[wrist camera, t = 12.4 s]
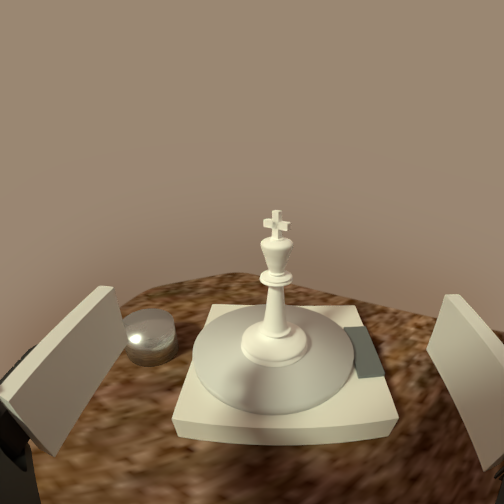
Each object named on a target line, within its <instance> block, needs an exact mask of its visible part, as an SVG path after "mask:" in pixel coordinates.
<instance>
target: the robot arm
mask: <svg viewBox="0 0 504 504" xmlns="http://www.w3.org/2000/svg"><path fill="white" fill-rule="evenodd" d="M128 342H129V340H128V337H127V334H126V330H125V327H124V324H123V320H122V316H121V313H120V309H119V305H118V301H117V297H116V293H115V289H114V287H108V286H99V287H97V288H96V289H95V290H94V291H93V292H92V293H91V294H90V295H89V296H87V297H86V298H85V299H84V300H83V301H82V302H81V303H80V304H79V305H78V306H77V307H76V308H75V309H73V310H72V311H71V312H70V313H69V314H68V315H67V316H66V317H65V318H64V319H63V320H62V321H61V322H60V323H59V324H58V325H57V326H56V327H55V328H54V329H53V330H52V331H51V332H50V333H49V334H48V335H47V336H46V337H45V338H44V339H43V340H42V341H41V342H40V343H39V344H37V345H35V346H34V347H32V348H31V349H29V350H28V351H27V352H26V353H25V354H24V355H23V356H22V357H21V360H18V362H17V363H16V364H15V366H14V367H12V368H11V369H10V370H9V371H8V373H6V375H5V376H4V377H3V378H2V379H1V380H0V504H41V502H40V497H39V493H38V488H37V483H36V478H35V473H34V467H33V460H32V452H31V448H30V445H29V444H28V443H27V442H28V441H29V439H31V440H32V441H33V442H34V443H35V445H36V446H37V447H38V448H39V449H41V450H43V451H44V452H46V453H48V454H49V455H51V456H53V457H55V456H56V454H57V452H58V451H59V449H60V447H61V446H62V444H63V442H64V441H65V439H66V437H67V436H68V434H69V432H70V431H71V429H72V427H73V426H74V424H75V423H76V421H77V419H78V418H79V416H80V415H81V413H82V411H83V410H84V408H85V407H86V405H87V403H88V402H89V400H90V399H91V397H92V396H93V394H94V393H95V391H96V390H97V388H98V386H99V385H100V383H101V382H102V380H103V379H104V377H105V376H106V374H107V373H108V371H109V370H110V368H111V367H112V365H113V364H114V362H115V361H116V359H117V358H118V357H119V355H120V354H121V352H122V351H123V349H124V348H125V346H126V345H127V343H128ZM426 350H427V352H428V353H429V355H430V357H431V359H432V361H433V362H434V364H435V366H436V368H437V370H438V372H439V374H440V375H441V377H442V379H443V381H444V383H445V385H446V387H447V389H448V391H449V393H450V395H451V397H452V399H453V401H454V403H455V405H456V407H457V409H458V411H459V414H460V416H461V418H462V420H463V422H464V425H465V427H466V429H467V431H468V434H469V436H470V438H471V441H472V443H473V446H474V448H475V450H476V453H477V456H478V458H479V461H480V463H481V466H482V469H483V472H485V471H487V470H489V469H491V468H493V467H495V466H497V465H499V464H500V463H501V462H502V461H503V460H504V345H503V343H502V342H501V341H500V340H499V338H498V337H497V336H496V335H495V334H494V332H493V331H492V330H491V329H490V328H489V327H488V325H487V324H486V323H485V322H484V321H483V320H482V319H481V318H480V316H479V315H478V314H477V313H476V312H475V311H474V310H473V309H472V308H471V306H470V305H469V304H467V302H466V301H465V300H464V299H463V298H462V297H461V296H460V295H459V294H451V295H445V297H444V300H443V303H442V307H441V310H440V313H439V316H438V319H437V322H436V325H435V327H434V330H433V333H432V336H431V339H430V341H429V344H428V346H427V349H426ZM503 472H504V466H503V467H502V468H501V469H500V470H499V471H498V472H497V473H496V474H495V476H494V478H495V479H496V478H497V477H498V476H500V475H501V474H502V473H503ZM499 480H502V484H501V488H500V491H499V494H498V497H497V500H496V503H495V504H504V474H503V475H502V476H501V477H500V478H499Z"/></svg>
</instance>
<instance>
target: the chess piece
mask: <svg viewBox="0 0 504 504" xmlns="http://www.w3.org/2000/svg"><path fill="white" fill-rule="evenodd" d="M264 227H268V228H272V236H271V237H268V238H265V239H264V240H262V241H261V248H262V252H263V254H264V256H265V260H266V263H267V266H268V268H269V270H266V271H264V272H263V273H262V274H261V276H260V281H261V282H262V283H263V284H265V285H267V286H269V289H268V297H267V304H266V311H265V317H264V321H261V322H257V323H255V324H253V325H251V326H250V327H248V328H247V329H246V330H245V332H244V333H243V336H242V342H241V349H242V352H243V354H244V355H245V356H246V357H247V358H248V359H249V360H250V361H252V362H254V363H256V364H259V365H262V366H266V367H283V366H288V365H291V364H293V363H295V362H297V361H299V360H300V359H301V358H302V357H303V356H304V355H305V353H306V351H307V337H306V334H305V332H304V331H303V330H302V329H301V328H300V327H299V326H297V325H295V324H293V323H291V322H288V321H286V312H285V302H284V287H283V286H286V285H289V284H290V283H291V282H292V281H293V278H292V274H291V273H290V272H288V271H286V270H284V269H285V267H286V264H287V262H288V258H289V255H290V253H291V251H292V248H293V242H292V241H291V240H290V239H288V238H285V237H282V230H284V231H289V230H291V222H286V221H282V211H281V210H274V211H272V219H264Z"/></svg>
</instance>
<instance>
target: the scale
mask: <svg viewBox="0 0 504 504" xmlns="http://www.w3.org/2000/svg"><path fill="white" fill-rule="evenodd" d="M265 311H266V304H264V305H224V304H213V305H212V307H211V310H210V313H209V315H208V318H207V321H206V324H205V326H204V328H203V329H202V330H201V332H200V333H199V335H198V336H197V338H196V340H195V343H194V346H193V360H192V362H191V365H190V368H189V371H188V374H187V376H186V379H185V382H184V385H183V388H182V391H181V393H180V396H179V399H178V402H177V405H176V408H175V411H174V414H173V416H172V421H173V424H174V426H175V429H176V431H177V434H178V436H179V437H184V438H190V439H197V440H205V441H213V442H223V443H234V444H249V445H316V444H331V443H342V442H351V441H360V440H367V439H374V438H380V437H386V436H389V434H390V432H391V431H392V429H393V427H394V426H395V424H396V422H397V421H398V419H399V417H398V414H397V411H396V408H395V405H394V402H393V399H392V397H391V394H390V391H389V388H388V386H387V383H386V380H385V378H384V375H385V372H384V370H383V367H382V364H381V362H380V359H379V357H378V355H377V352H376V350H375V347H374V345H373V342H372V340H371V338H370V335H369V333H368V331H367V328H366V326H363V323H362V321H361V319H360V316H359V314H358V312H357V309H356V307H355V305H351V306H291V305H285V312H286V321H288V322H291V323H293V324H295V325H297V326H299V327H300V328H301V329H302V330H303V331H304V332H305V334H306V337H307V351H306V353H305V355H304V356H303V357H302V358H301V359H300V360H299V361H297V362H295V363H293V364H291V365H288V366H283V367H266V366H262V365H259V364H256V363H254V362H252V361H250V360H249V359H248V358H247V357H246V356H245V355H244V354H243V352H242V349H241V342H242V336H243V333H244V332H245V330H246V329H247V328H248V327H250V326H251V325H253V324H255V323H257V322H261V321H264V317H265Z"/></svg>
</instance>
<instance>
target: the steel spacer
mask: <svg viewBox="0 0 504 504" xmlns="http://www.w3.org/2000/svg"><path fill="white" fill-rule="evenodd" d="M123 324H124V327H125V330H126V334H127V337H128V340H129V342H128V343H127V345H126V346H125V349H126V352H127V355H128V357H129V359H130V360H131V361H132V362H133V363H135V364H137V365H139V366H144V367H154V366H159V365H162V364H165V363H167V362H168V361H170V360H171V359H173V358H174V357H175V355H176V354H177V352H178V349H179V345H178V340H177V335H176V330H175V325H174V320H173V317H172V315H171V314H170V313H168V312H167V311H164V310H161V309H143V310H139V311H136V312H133V313H131V314H129V315H128V316H126V317H125V318H124V319H123Z"/></svg>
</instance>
